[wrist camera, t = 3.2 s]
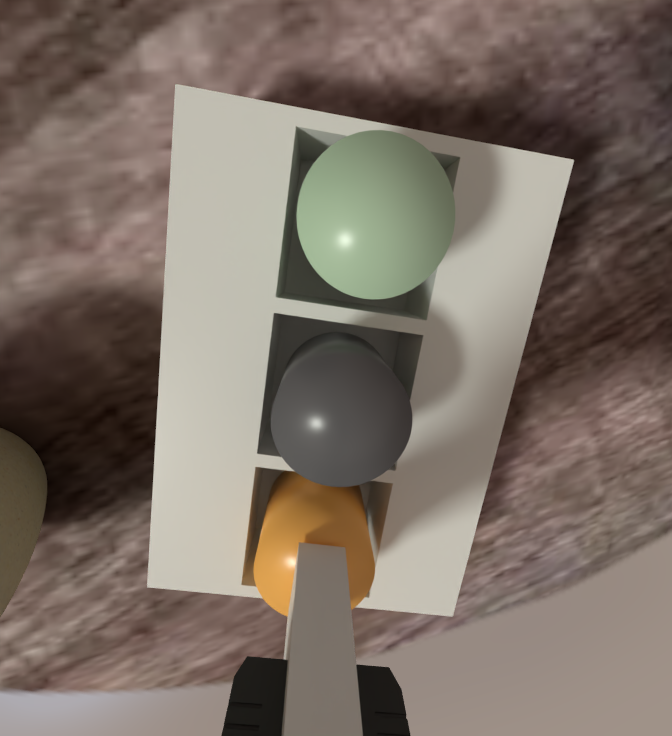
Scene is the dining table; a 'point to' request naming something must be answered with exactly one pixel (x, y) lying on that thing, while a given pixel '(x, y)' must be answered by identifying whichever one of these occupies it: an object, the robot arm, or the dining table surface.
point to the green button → (375, 214)
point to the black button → (340, 412)
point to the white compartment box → (323, 315)
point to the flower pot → (18, 510)
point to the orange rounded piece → (311, 536)
